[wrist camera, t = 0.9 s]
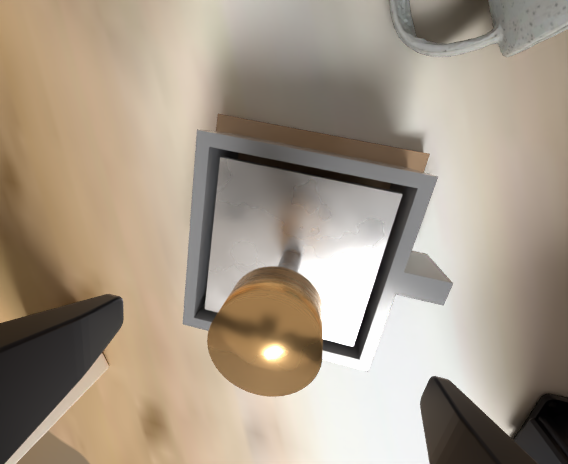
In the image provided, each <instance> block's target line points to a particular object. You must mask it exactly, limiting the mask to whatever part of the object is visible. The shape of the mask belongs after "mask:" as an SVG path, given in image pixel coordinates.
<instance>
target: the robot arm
mask: <svg viewBox="0 0 568 464" xmlns="http://www.w3.org/2000/svg"><path fill="white" fill-rule="evenodd" d="M122 324H123V299H122V298H121V297H120V296H116V295H112V294H105V295H102V296H98V297H94V298H91V299H87V300H83V301H80V302H76V303H72V304H69V305H65V306H61V307H58V308H54V309H51V310H47V311H43V312H40V313H36V314H32V315H29V316H25V317H21V318H18V319H14V320H10V321H7V322H3V323H0V464H5V463H6V462H7V461H8V460H9V458H10V457H11V456H12V455H13V454H14V453H15V452H16V451H17V450H18V449H19V447H20V446H21V445H22V444H23V443H24V442H25V441H26V440H27V439H28V437H29V436H30V435H31V434H32V433H33V432H34V431H35V430H36V429H37V427H38V426H39V425H40V424H41V423H42V422H43V421H44V420H45V419H46V418H47V416H48V415H49V414H50V413H51V412H52V411H53V410H54V409H55V408H56V406H57V405H58V404H59V403H60V402H61V401H62V400H63V399H64V398H65V397H66V395H67V394H68V393H69V392H70V391H71V390H72V389H73V388H74V387H75V385H76V384H77V383H78V382H79V381H80V380H81V379H82V377H83V376H84V375H85V374H86V373H87V371H88V370H89V369H90V368H91V366H92V365H93V364H94V363H95V361H96V360H97V359H98V357H99V356H100V355H101V353H102V352H103V351H104V349H105V348H106V347H107V345H108V344H109V343H110V341H111V340H112V339H113V337H114V336H115V335H116V333H117V332H118V331H119V329H120V328H121V326H122ZM420 408H421V414H422V420H423V426H424V432H425V438H426V444H427V451H428V457H429V462H430V464H568V398H564V397H560V396H556V395H552V394H546V395H544V396H542V397H541V399H540V400H539V402H538V403H537V405H536V406H535V408H534V409H533V411H532V412H531V414H530V416H529V417H528V419H527V420H526V422H525V423H524V425H523V426H522V428H521V429H520V431H519V433H518V434H517V436H516V437H515V439H514V440H512V439H511V438H510V437H509V436H508V435H507V434H506V433H505V432H504V431H503V430H502V429H501V428H500V427H499V426H498V425H497V424H495V423H494V422H493V421H492V420H491V419H490V418H489V417H488V416H487V415H486V414H485V413H484V412H483V411H482V410H481V409H480V408H478V407H477V406H476V405H475V404H474V403H473V402H472V401H471V400H470V399H469V398H468V397H467V396H466V395H465V394H464V393H463V392H461V391H460V390H459V389H458V388H457V387H456V386H455V385H454V384H453V383H452V382H451V381H450V380H448V379H445V378H441V377H437V376H432V377H431V378H430V379H429V381H428V384H427V386H426V388H425V390H424V392H423V395H422V397H421V401H420Z"/></svg>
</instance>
